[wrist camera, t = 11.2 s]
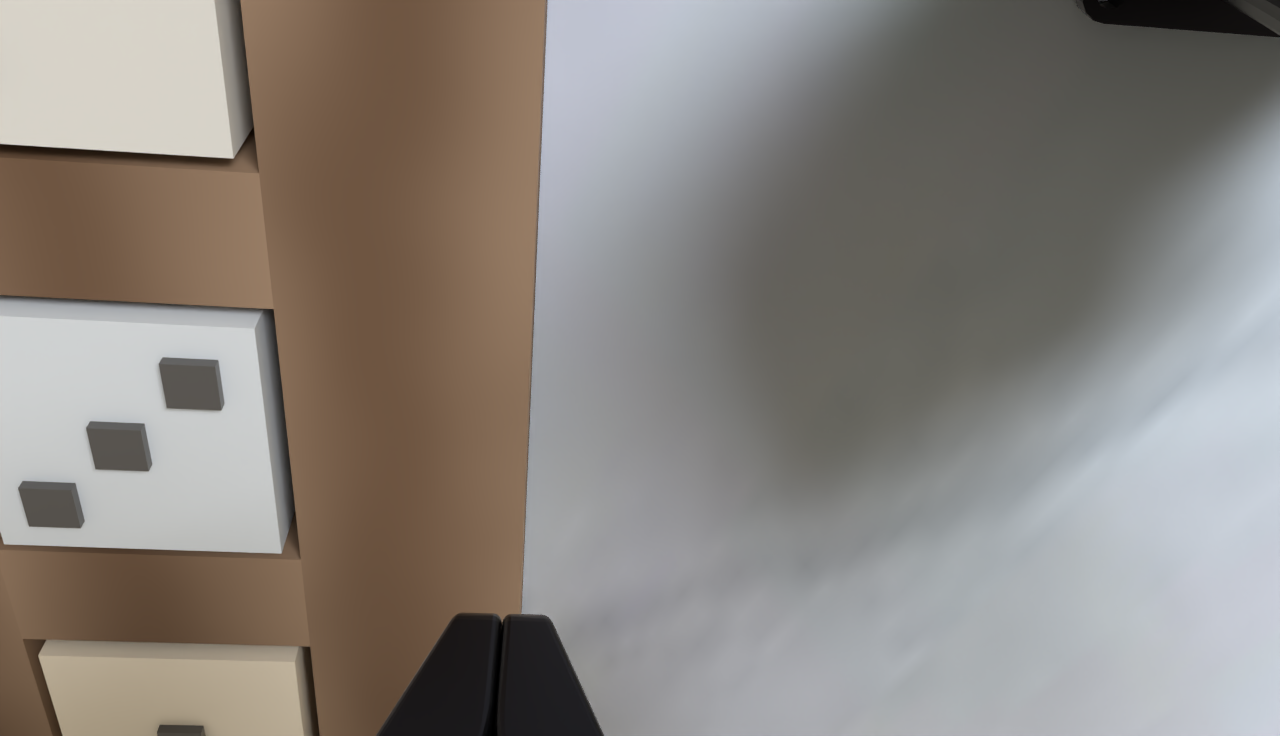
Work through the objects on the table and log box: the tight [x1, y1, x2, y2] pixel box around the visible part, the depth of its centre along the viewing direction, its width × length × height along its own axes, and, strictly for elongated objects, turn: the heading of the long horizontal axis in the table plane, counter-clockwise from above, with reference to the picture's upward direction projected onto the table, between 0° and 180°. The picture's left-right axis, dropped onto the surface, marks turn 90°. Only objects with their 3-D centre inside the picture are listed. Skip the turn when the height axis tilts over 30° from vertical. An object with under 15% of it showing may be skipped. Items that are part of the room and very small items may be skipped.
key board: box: [0, 0, 547, 736], centre depth 21 cm, size 14×24×3 cm, turn 175°
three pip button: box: [0, 295, 295, 554], centre depth 21 cm, size 5×5×3 cm
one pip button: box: [38, 640, 320, 736], centre depth 25 cm, size 5×5×3 cm
